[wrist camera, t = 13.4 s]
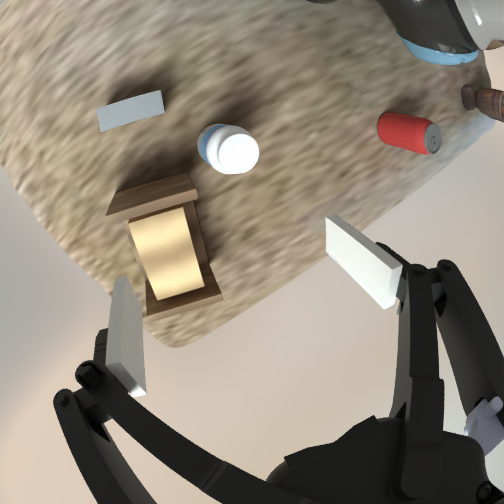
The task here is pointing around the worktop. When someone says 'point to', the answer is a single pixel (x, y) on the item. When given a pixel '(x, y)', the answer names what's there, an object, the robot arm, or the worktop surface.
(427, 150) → the beer can
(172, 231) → the shelf board
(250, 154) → the pill bottle
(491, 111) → the mortar and pestle
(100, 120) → the riser block
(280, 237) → the worktop surface
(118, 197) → the peg frame
